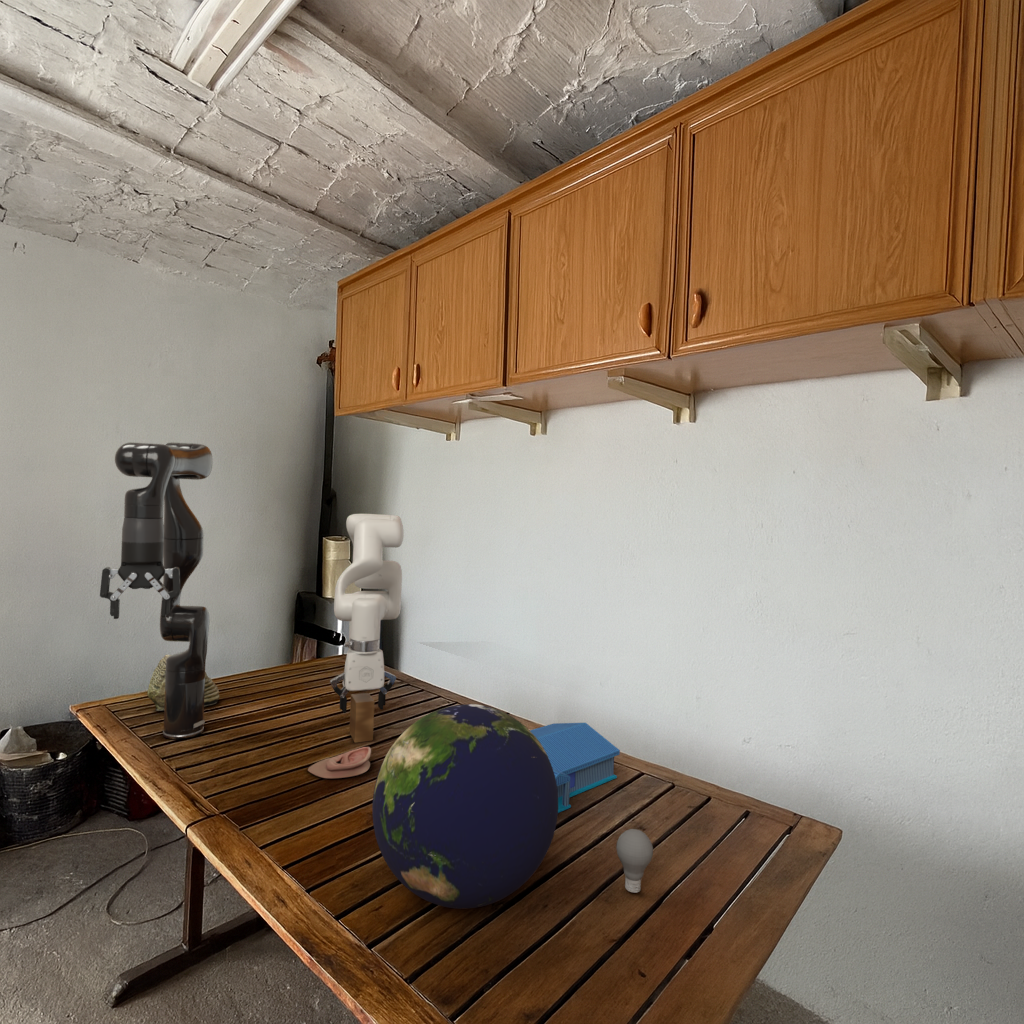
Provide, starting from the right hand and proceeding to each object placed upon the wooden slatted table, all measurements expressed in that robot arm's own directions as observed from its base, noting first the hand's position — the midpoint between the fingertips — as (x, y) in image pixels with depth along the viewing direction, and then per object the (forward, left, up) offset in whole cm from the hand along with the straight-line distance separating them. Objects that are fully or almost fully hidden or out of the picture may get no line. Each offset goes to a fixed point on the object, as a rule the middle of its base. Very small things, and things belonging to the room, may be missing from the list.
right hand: (362, 709), depth 168 cm
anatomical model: (+20, -5, -7) cm, 22 cm away
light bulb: (+74, +44, -7) cm, 87 cm away
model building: (+35, +37, -7) cm, 51 cm away
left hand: (+26, -46, +29) cm, 60 cm away
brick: (0, 0, -7) cm, 7 cm away
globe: (+70, +16, -7) cm, 72 cm away
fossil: (-30, -51, -7) cm, 59 cm away
